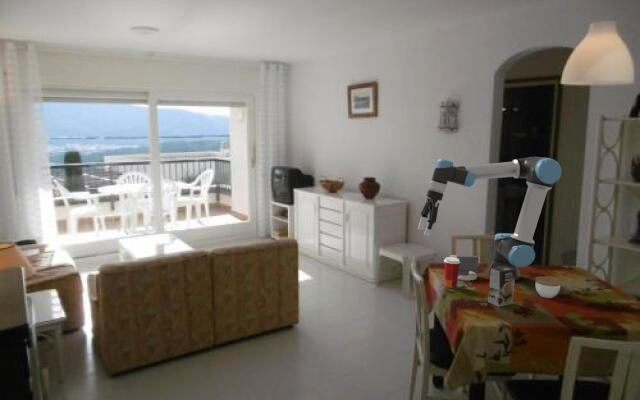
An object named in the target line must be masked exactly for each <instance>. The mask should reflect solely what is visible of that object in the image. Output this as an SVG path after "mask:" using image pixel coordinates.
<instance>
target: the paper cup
mask: <svg viewBox="0 0 640 400" xmlns="http://www.w3.org/2000/svg"><path fill="white" fill-rule="evenodd" d="M443 262H444V287H445V288H448V289H456V288H457V286H458V281H459V280H458V273H459V264H460V260H459V259H458V258H455V257H450V256H448V257H447V256H446V257H445V258H444V260H443Z"/></svg>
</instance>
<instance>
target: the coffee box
mask: <svg viewBox="0 0 640 400" xmlns="http://www.w3.org/2000/svg"><path fill="white" fill-rule="evenodd" d="M515 272H516V269H513V268H510V267H506V266H501V267H495V268H491V274H490V276H489V277H490V278H489V287H488V297H487V298H488V300H487V302H488V303H489V304H491V305H494V306H496V307H504V306H508V305H512V304H513V303H514V292H515V283H516V282H515V281H516V280H515Z"/></svg>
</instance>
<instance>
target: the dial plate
mask: <svg viewBox="0 0 640 400" xmlns="http://www.w3.org/2000/svg"><path fill="white" fill-rule="evenodd" d="M477 278H478V274H477V273H476V272H475V271H469V274H468V275H461V274H458V280H457V281H464V282H465V281H466V282H467V281H469V282H471V280H472V281H475V280H477Z"/></svg>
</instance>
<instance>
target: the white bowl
mask: <svg viewBox="0 0 640 400" xmlns="http://www.w3.org/2000/svg"><path fill="white" fill-rule="evenodd" d="M534 279H535V284H534V285H535V290H536V293H538V294H539V296H540V297H541V298H546V299H553V298H554V297H556V296H557V295H559V292H560V291H561V285H562V281H561V280H560V279H558V278H554V277H551V276H549V275H548V276H543V275H542V276H536V277H535V278H534Z"/></svg>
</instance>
